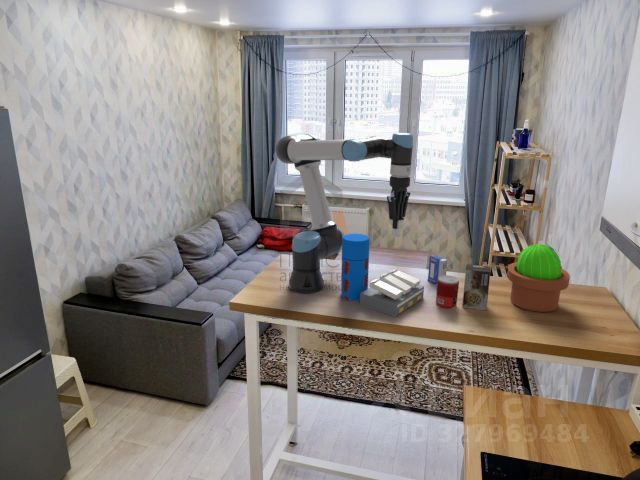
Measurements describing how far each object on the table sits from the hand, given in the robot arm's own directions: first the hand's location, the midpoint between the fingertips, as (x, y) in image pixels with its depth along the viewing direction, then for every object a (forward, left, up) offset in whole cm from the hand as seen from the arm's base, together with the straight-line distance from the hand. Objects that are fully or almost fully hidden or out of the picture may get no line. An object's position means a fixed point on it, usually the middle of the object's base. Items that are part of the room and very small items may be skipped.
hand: (395, 236), depth 180 cm
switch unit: (+1, -2, -27) cm, 27 cm away
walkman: (+6, +27, -27) cm, 39 cm away
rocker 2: (+2, -2, -19) cm, 19 cm away
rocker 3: (+2, +5, -19) cm, 20 cm away
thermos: (-14, -7, -27) cm, 31 cm away
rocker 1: (+2, -9, -19) cm, 21 cm away
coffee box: (+28, +15, -27) cm, 42 cm away
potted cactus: (+45, +33, -27) cm, 62 cm away
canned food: (+19, +9, -27) cm, 34 cm away
